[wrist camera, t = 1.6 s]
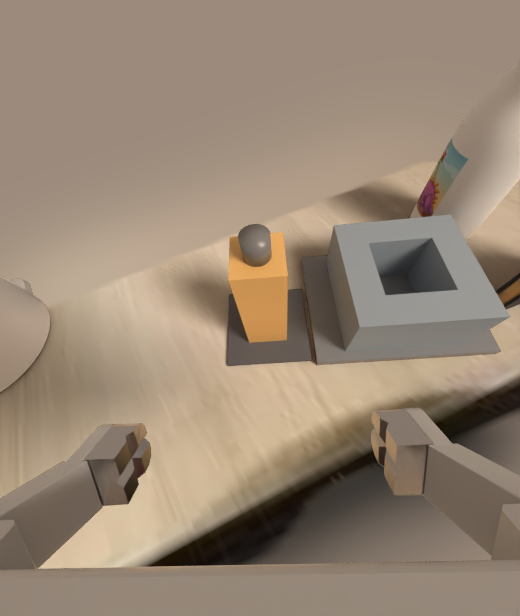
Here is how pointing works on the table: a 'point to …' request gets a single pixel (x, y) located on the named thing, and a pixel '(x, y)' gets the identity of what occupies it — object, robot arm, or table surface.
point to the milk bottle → (478, 160)
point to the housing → (400, 294)
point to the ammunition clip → (510, 292)
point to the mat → (272, 350)
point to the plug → (260, 282)
